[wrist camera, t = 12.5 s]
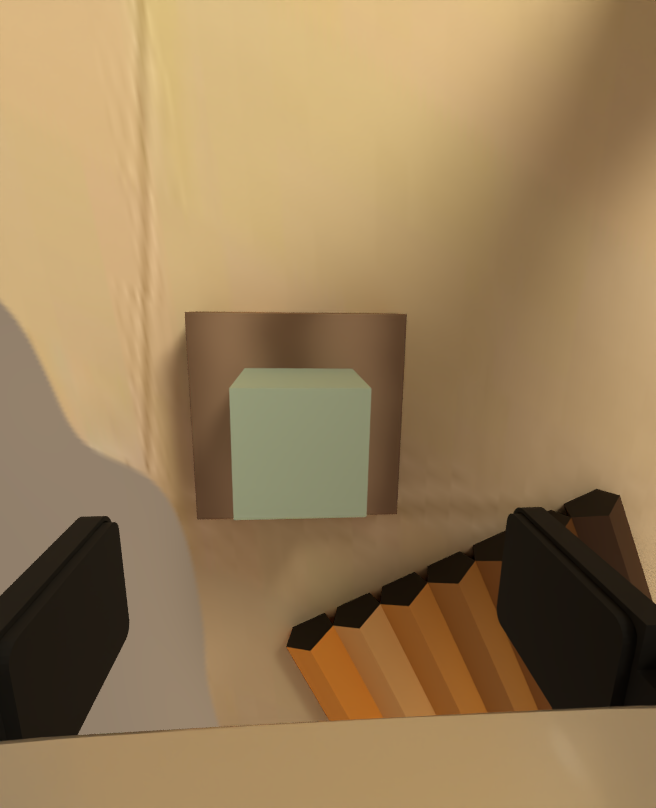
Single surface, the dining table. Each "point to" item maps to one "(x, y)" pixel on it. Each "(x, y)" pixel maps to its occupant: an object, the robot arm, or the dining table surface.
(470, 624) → the pan flute
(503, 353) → the dining table surface
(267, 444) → the sage cube
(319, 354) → the walnut stand
